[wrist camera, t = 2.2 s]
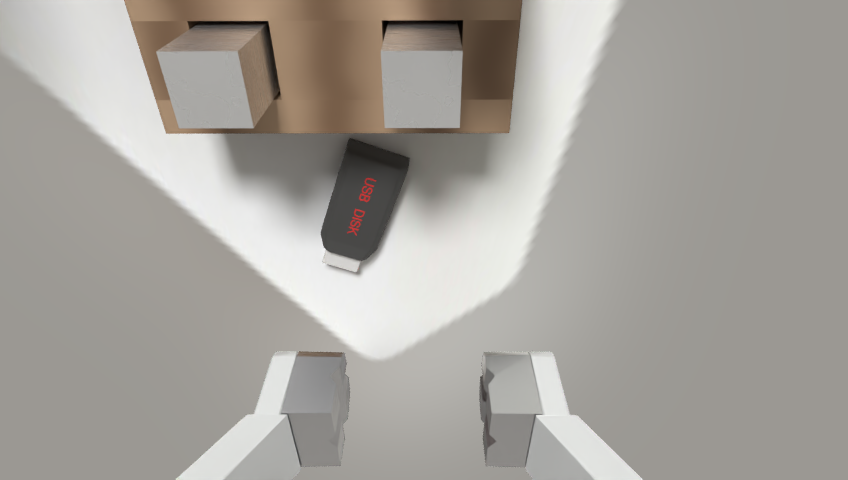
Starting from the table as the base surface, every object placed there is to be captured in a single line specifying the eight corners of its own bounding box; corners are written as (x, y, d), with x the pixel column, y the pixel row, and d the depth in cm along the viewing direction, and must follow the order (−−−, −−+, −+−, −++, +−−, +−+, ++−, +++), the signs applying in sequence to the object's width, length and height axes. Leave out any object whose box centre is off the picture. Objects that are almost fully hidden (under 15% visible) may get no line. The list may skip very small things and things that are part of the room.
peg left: (221, 84, 33) (179, 128, 28) (206, 18, 31) (155, 51, 25) (283, 84, 33) (253, 128, 27) (272, 18, 31) (237, 51, 25)
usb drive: (409, 156, 43) (408, 172, 41) (368, 262, 50) (366, 280, 48) (349, 136, 42) (345, 151, 40) (316, 246, 49) (310, 264, 46)
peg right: (392, 84, 33) (384, 128, 27) (389, 17, 31) (380, 51, 25) (454, 83, 33) (459, 128, 27) (456, 17, 31) (462, 50, 25)
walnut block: (209, 90, 40) (166, 133, 33) (175, -42, 34) (117, -22, 28) (495, 89, 39) (509, 133, 33) (506, -44, 34) (524, -24, 28)
